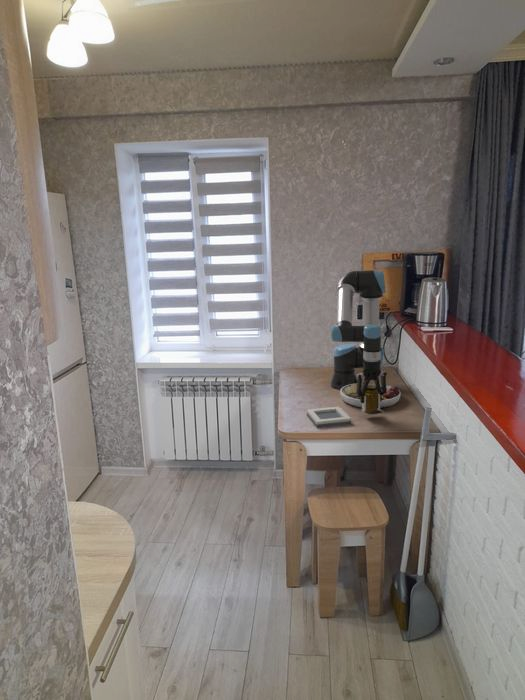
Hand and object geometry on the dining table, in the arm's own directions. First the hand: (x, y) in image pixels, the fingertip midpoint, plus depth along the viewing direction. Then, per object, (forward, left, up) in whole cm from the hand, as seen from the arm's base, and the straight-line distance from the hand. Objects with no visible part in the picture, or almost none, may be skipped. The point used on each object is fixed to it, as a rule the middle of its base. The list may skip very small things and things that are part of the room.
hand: (370, 408), depth 214 cm
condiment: (0, +1, -2) cm, 2 cm away
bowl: (-24, +10, -5) cm, 26 cm away
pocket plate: (-4, -19, -5) cm, 20 cm away
